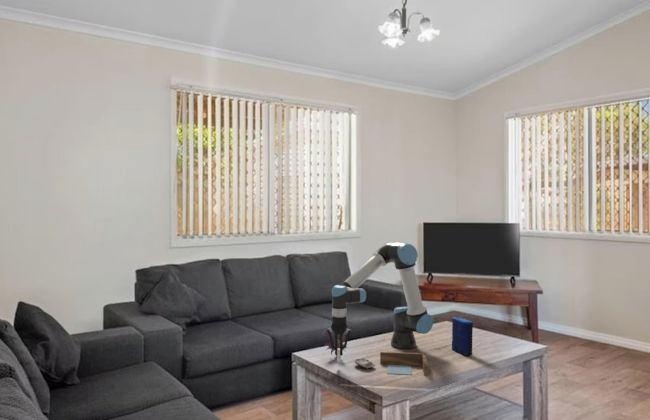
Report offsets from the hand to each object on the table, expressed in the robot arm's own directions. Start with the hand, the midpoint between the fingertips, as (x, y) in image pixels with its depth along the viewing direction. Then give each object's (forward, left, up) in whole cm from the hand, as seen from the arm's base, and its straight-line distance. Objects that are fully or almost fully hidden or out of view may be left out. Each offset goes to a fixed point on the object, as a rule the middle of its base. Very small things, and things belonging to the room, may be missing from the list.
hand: (338, 361), depth 252 cm
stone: (+1, +12, -4) cm, 13 cm away
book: (-37, +67, -4) cm, 77 cm away
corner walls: (-2, +31, -3) cm, 31 cm away
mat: (-1, +31, -3) cm, 31 cm away
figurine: (-17, -3, -4) cm, 18 cm away
